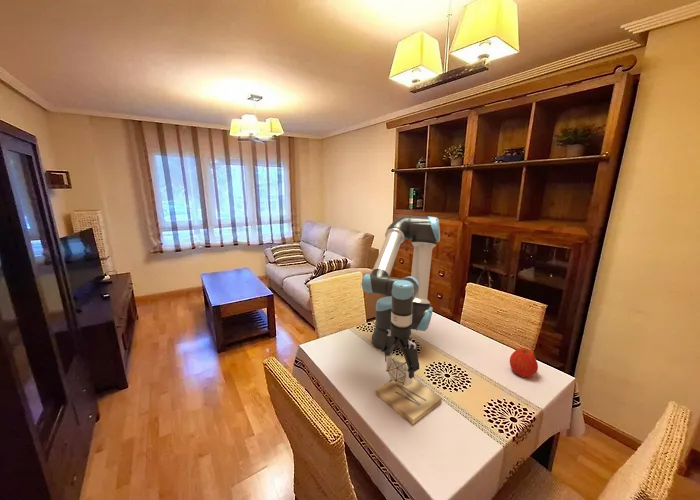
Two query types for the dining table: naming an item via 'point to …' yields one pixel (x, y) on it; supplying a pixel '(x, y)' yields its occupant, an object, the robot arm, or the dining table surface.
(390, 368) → the game die
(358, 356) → the dining table surface
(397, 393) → the board
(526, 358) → the apple
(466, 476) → the dining table surface
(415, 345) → the robot arm
